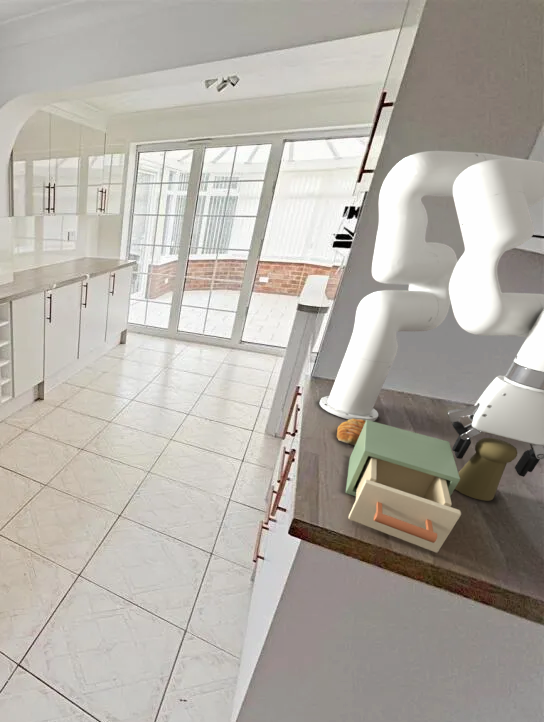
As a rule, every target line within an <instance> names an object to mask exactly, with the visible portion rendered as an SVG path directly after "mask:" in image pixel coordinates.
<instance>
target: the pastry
mask: <svg viewBox="0 0 544 722" xmlns="http://www.w3.org/2000/svg"><path fill="white" fill-rule="evenodd" d="M365 422H366V421H365V420H362V419H351V420H349V419H347V420H346V421H343V422H341V423H340V424H339V425H338V426H337V428H336V439H337V440H338V441H340V442H343V443H345V444H347V445H348V444H349V445H351V446H354V447H355V445H356V443H357V440H358V438H359V436H360V433H361V431H362V429H363V427H364V424H365Z"/></svg>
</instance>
